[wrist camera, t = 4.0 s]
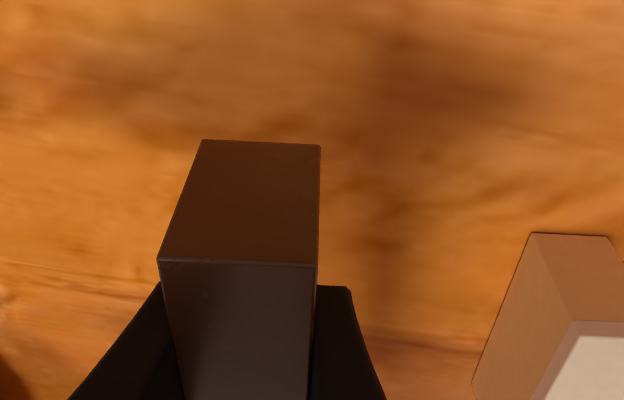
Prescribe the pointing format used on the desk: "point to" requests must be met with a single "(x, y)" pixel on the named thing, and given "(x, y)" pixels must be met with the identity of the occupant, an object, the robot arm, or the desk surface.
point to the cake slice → (558, 325)
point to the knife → (244, 271)
